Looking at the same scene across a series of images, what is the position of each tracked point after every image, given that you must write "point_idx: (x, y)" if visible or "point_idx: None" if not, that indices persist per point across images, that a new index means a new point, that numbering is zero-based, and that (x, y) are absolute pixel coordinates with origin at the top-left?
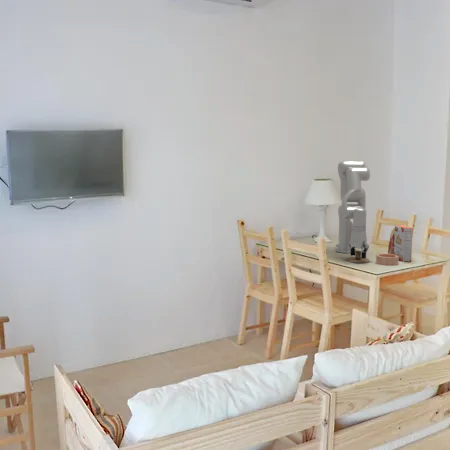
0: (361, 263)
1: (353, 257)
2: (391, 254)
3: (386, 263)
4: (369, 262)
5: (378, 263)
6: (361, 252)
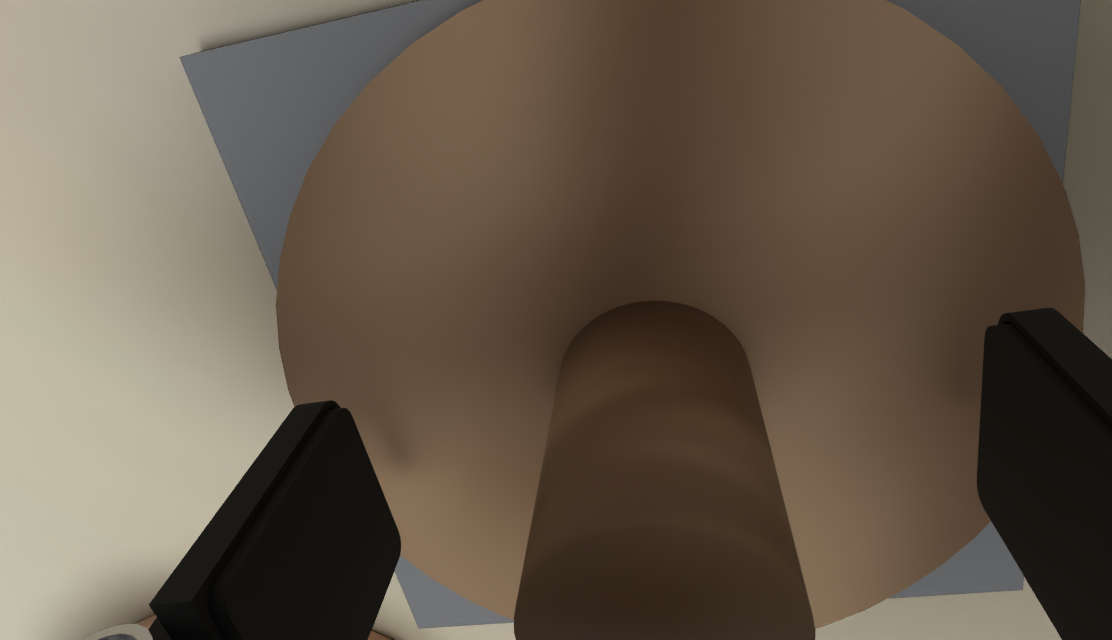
0: (270, 270)
1: None
2: None
3: None
4: None
5: None
6: (202, 579)
